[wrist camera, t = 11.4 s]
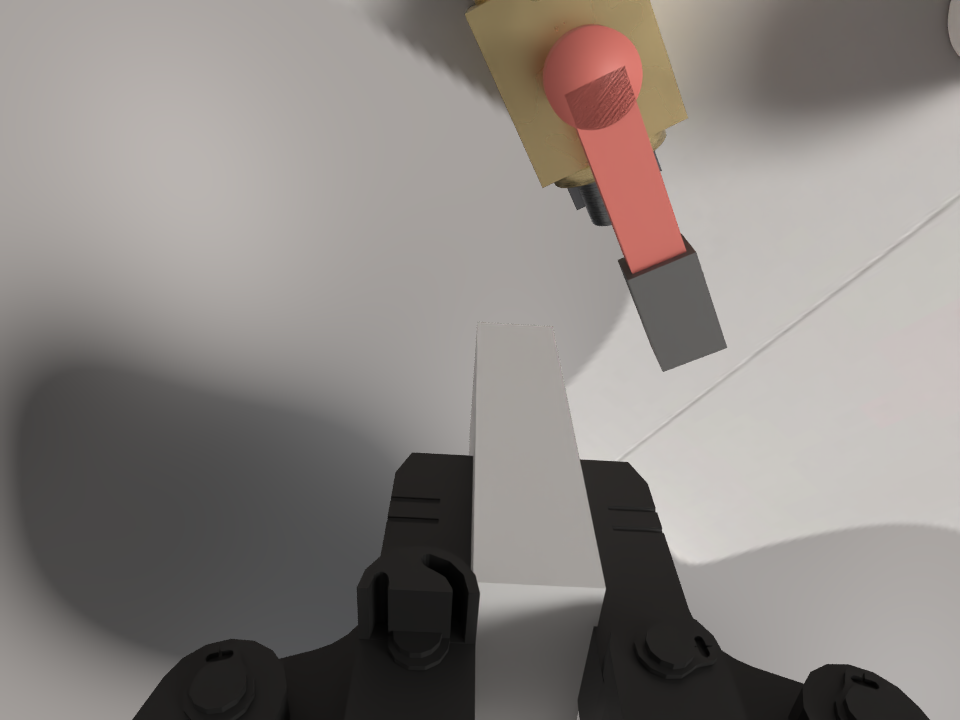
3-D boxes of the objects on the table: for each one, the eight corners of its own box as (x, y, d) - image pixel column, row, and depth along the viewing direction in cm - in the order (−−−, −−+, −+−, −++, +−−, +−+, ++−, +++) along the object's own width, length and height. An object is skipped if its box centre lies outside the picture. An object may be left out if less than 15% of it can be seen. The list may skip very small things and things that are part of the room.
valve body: (430, -76, 32) (412, -97, 24) (565, -157, 30) (596, -211, 22) (560, 215, 39) (581, 279, 31) (675, 162, 37) (730, 213, 29)
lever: (527, 50, 26) (531, 55, 24) (614, 6, 25) (626, 8, 23) (645, 349, 33) (656, 374, 31) (717, 321, 32) (733, 345, 30)
